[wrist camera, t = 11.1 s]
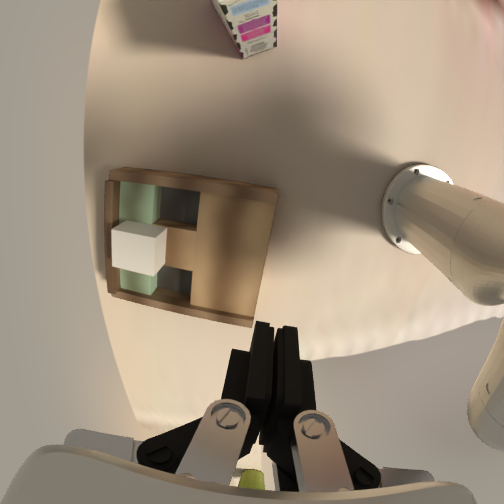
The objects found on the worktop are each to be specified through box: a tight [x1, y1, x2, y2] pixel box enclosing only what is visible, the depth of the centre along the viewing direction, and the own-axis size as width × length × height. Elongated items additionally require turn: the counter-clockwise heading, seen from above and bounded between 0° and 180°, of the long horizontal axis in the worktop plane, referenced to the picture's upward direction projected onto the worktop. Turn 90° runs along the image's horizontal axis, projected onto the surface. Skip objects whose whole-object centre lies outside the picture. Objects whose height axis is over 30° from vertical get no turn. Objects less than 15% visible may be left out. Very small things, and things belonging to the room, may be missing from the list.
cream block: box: [111, 220, 167, 276], centre depth 35 cm, size 6×5×4 cm
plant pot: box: [238, 470, 265, 490], centre depth 60 cm, size 9×9×9 cm
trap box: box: [104, 167, 278, 328], centre depth 37 cm, size 21×18×5 cm
